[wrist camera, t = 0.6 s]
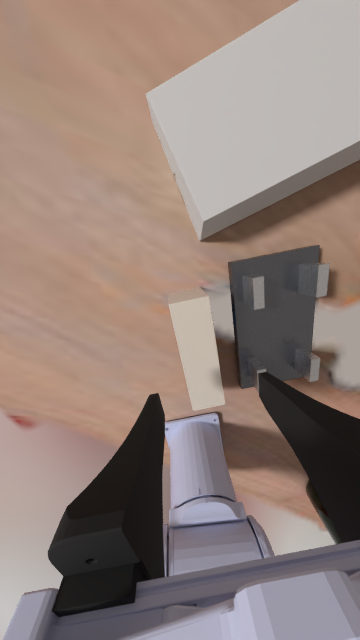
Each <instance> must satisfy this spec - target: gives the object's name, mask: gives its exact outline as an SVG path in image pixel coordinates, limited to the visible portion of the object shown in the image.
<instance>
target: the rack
mask: <svg viewBox="0 0 360 640" xmlns="http://www.w3.org/2000/svg"><path fill="white" fill-rule="evenodd" d="M319 246H320V245H315V246H308V247H303V248H298V249H293V250H288V251H283V252H278V253H273V254H268V255H263V256H258V257H253V258H248V259H243V260H238V261H233V262H228V268H229V279H230V290H231V301H232V312H233V324H234V335H235V346H236V357H237V369H238V380H239V385H240V387H241V389H244V388H249V387H255V388H256V390H257V391H258V392H259V379H258V373H263V372H268V373H270V374H271V375H273V376H275V377H276V378H278V379H279V380H281V381H285V380H290V379H295V378H300V377H304V378H305V379H307V380H308V381H309V382H313V381H318V377H319V367H320V358H319V357H318V356H316V355H315V354H313V353H312V352H311V349H312V336H313V323H314V310H315V297H316V298H317V297H322V296H327V286H328V276H329V266H330V263H318V259H319Z"/></svg>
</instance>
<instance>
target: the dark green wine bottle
mask: <svg viewBox="0 0 360 640" xmlns="http://www.w3.org/2000/svg"><path fill="white" fill-rule="evenodd" d="M306 493H307V496H308V498H309V499H310V501H311V503H312V505H313V507H314V508H315V510H316V512H317V513H318V515H319V517H320V518H321V520H322V522H323V524H324V525H325V527H326V529H327V530H328V532H329V534H330V535H331V537H332V539H333V540H334V542H335V544H341V543H342V541H341V539H340V537H339V535H338V533H337V531H336V529H335V527H334V525H333V523H332V521H331V519H330V517H329V515H328V513H327V511H326V509H325V507H324V505H323V503H322V502H321V500H320V498H319V496H318V494H317V492H316V490H315V488H314V486H313V484H312V483H311V481H310V479H309V481H308V483H307V486H306Z"/></svg>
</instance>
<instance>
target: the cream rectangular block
mask: <svg viewBox="0 0 360 640" xmlns="http://www.w3.org/2000/svg"><path fill="white" fill-rule="evenodd" d="M168 305H169V309H170V313H171V318H172V322H173V326H174V331H175V335H176V339H177V344H178V348H179V352H180V357H181V361H182V365H183V370H184V374H185V378H186V383H187V387H188V391H189V396H190V400H191V404H192V409H193V411H195V410H200V409H205V408H210V407H215V406H220V405H225V400H224V393H223V387H222V380H221V373H220V366H219V359H218V353H217V346H216V339H215V332H214V325H213V318H212V312H211V305H210V298H209V295H208V294H207V293H206V292H205V291H203V290H202V289H201V288H200V287H198V288H193V289H188V290H183V291H179V292H174V293H169V301H168Z"/></svg>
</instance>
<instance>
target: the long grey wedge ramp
mask: <svg viewBox="0 0 360 640" xmlns="http://www.w3.org/2000/svg"><path fill="white" fill-rule="evenodd" d="M146 97H147V101H148V105H149V109H150V114H151V118H152V122H153V125H154V127H155V130H156V132H157V135H158V137H159V139H160V142H161V144H162V147H163V150H164V152H165V155H166V158H167V160H168V163H169V165H170V168H171V170H172V173H173V174H175V177H176V183H177V185H178V187H179V189H180V191H181V194H182V196H183V199H184V202H185V205H186V208H187V211H188V213H189V216H190V218H191V221H192V223H193V226H194V228H195V231H196V233H197V236H198V238H199V241H201V240H203V239H205V238H207V237H209V236H211V235H213V234H215V233H217V232H219V231H220V230H222V229H224V228H226V227H228V226H230V225H232V224H234V223H236V222H238V221H240V220H242V219H244V218H246V217H248V216H250V215H252V214H254V213H256V212H258V211H260V210H262V209H264V208H266V207H268V206H270V205H272V204H274V203H276V202H278V201H280V200H282V199H284V198H285V197H287V196H289V195H291V194H293V193H295V192H297V191H299V190H301V189H303V188H305V187H307V186H309V185H311V184H313V183H315V182H317V181H319V180H321V179H323V178H325V177H327V176H329V175H331V174H333V173H335V172H337V171H339V170H341V169H343V168H345V167H347V166H349V165H351V164H352V163H354V162H356V161H358V160H360V0H299V1H298V2H296V3H294V4H293V5H291V6H289V7H288V8H286V9H284V10H283V11H281V12H279V13H278V14H276V15H275V16H273V17H271V18H270V19H268V20H266V21H265V22H263V23H261V24H260V25H258V26H256V27H255V28H253V29H252V30H250V31H248V32H247V33H245V34H243V35H242V36H240V37H238V38H237V39H235V40H233V41H232V42H230V43H228V44H227V45H225V46H224V47H222V48H220V49H219V50H217V51H215V52H214V53H212V54H210V55H209V56H207V57H205V58H204V59H202V60H201V61H199V62H197V63H196V64H194V65H192V66H191V67H189V68H187V69H186V70H184V71H182V72H181V73H179V74H177V75H176V76H174V77H173V78H171V79H169V80H168V81H166V82H164V83H163V84H161V85H159V86H158V87H156V88H154V89H153V90H151V91H150V92H148V93H146Z"/></svg>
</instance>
